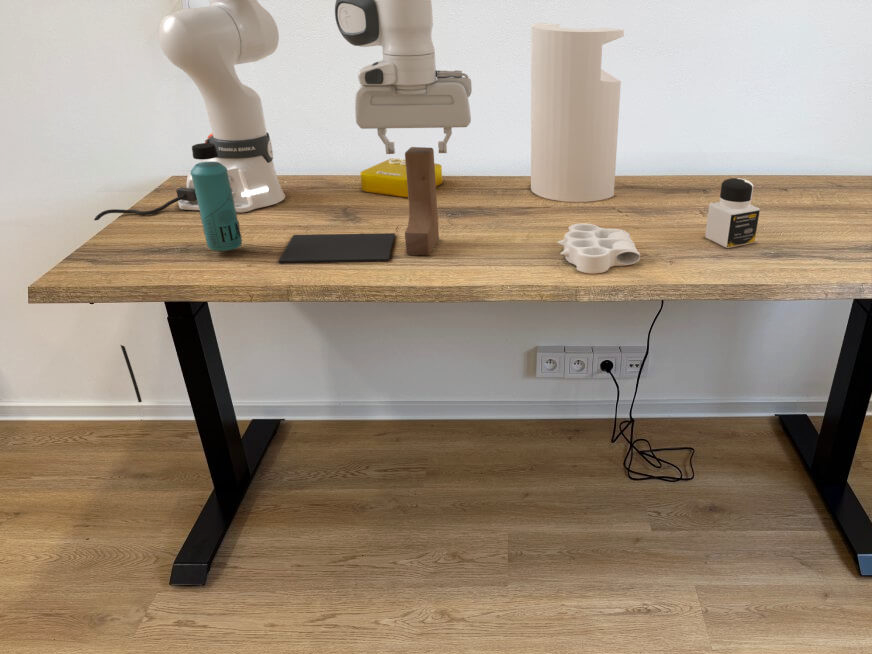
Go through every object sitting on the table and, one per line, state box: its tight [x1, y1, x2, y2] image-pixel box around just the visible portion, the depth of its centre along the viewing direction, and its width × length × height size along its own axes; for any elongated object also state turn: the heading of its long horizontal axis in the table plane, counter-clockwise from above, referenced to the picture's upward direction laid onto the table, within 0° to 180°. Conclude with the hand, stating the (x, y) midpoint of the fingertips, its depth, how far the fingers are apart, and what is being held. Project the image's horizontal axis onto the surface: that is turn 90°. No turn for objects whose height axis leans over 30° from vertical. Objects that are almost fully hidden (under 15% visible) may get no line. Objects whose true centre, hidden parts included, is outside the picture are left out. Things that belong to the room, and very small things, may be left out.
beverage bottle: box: [189, 142, 243, 252], centre depth 141 cm, size 6×7×20 cm
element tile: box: [359, 157, 443, 198], centre depth 183 cm, size 15×15×5 cm
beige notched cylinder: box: [530, 22, 625, 203], centre depth 171 cm, size 35×11×21 cm
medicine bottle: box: [704, 177, 761, 249], centre depth 152 cm, size 7×7×12 cm
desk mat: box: [278, 232, 396, 264], centre depth 149 cm, size 20×14×1 cm
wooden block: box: [404, 146, 440, 256], centre depth 145 cm, size 9×4×18 cm, turn 174°
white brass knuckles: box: [556, 222, 641, 275], centre depth 146 cm, size 3×18×15 cm
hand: (416, 152), depth 140 cm, fingers open, 8 cm apart
